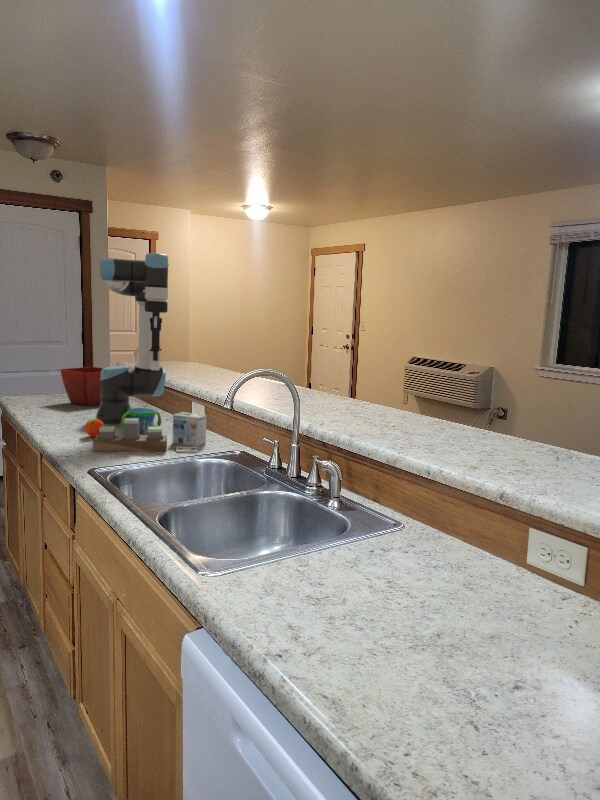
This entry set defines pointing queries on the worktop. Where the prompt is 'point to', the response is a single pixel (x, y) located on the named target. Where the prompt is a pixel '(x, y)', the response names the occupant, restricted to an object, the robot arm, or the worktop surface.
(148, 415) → the snack cup
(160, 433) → the button far
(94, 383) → the plant pot
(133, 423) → the button mid
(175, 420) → the light bulb box
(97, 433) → the tomato
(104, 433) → the button near
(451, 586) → the worktop surface
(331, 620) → the worktop surface
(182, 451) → the card
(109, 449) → the button board
